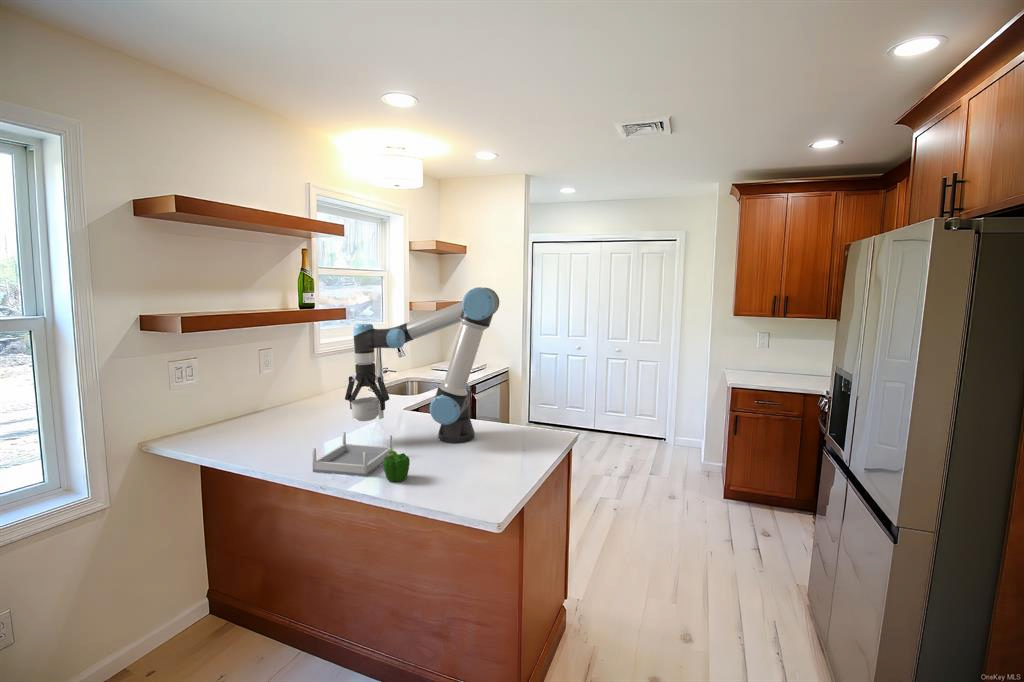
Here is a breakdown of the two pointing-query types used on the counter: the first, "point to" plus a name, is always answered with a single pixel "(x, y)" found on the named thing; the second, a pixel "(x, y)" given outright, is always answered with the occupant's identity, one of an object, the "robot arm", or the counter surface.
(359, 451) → the dish rack
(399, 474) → the bell pepper
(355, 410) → the teacup
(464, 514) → the counter surface
